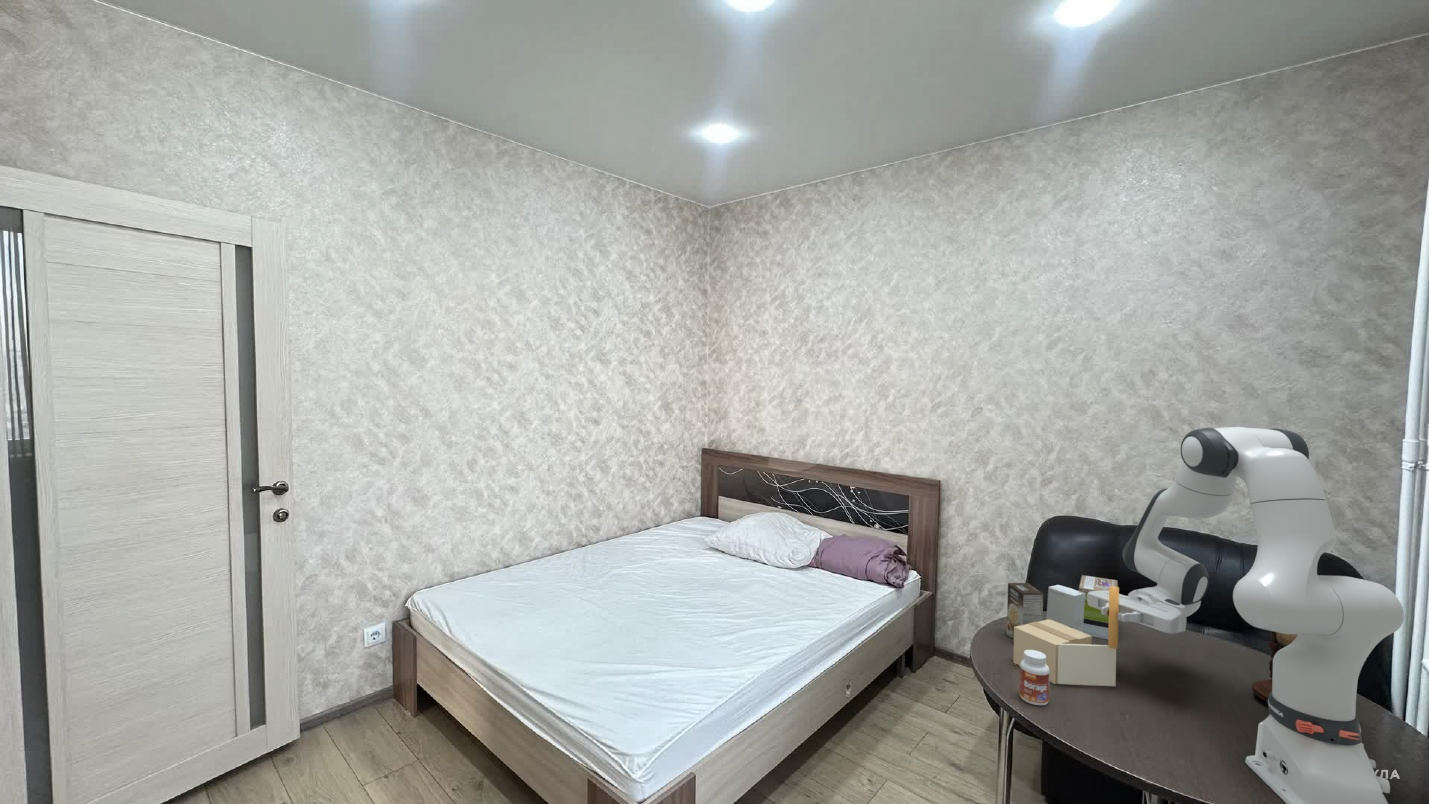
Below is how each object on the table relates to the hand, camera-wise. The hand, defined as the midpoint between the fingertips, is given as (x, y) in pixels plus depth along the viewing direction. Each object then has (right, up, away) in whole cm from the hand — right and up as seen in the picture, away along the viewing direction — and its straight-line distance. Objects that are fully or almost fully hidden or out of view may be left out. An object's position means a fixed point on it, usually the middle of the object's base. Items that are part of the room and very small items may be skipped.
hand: (1112, 614), depth 142 cm
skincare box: (+7, -19, +31) cm, 37 cm away
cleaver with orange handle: (-5, -18, +1) cm, 19 cm away
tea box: (+21, -19, +37) cm, 47 cm away
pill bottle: (-22, -19, -4) cm, 29 cm away
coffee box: (-6, -19, +28) cm, 35 cm away
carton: (-8, -19, +12) cm, 23 cm away
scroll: (+39, -19, -6) cm, 44 cm away
